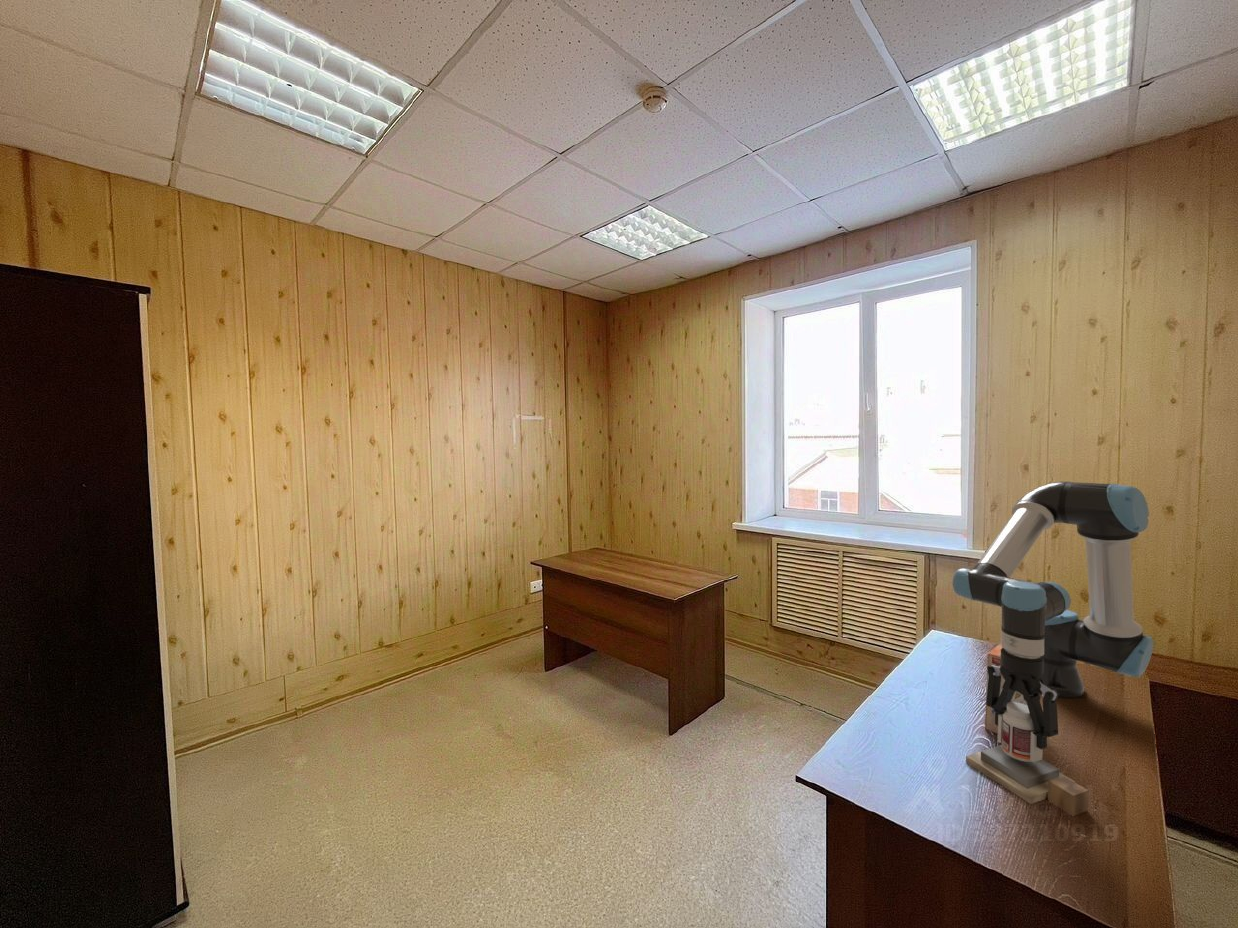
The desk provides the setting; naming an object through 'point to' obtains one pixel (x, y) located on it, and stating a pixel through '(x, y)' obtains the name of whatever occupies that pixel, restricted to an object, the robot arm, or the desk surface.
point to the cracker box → (995, 659)
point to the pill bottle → (1017, 731)
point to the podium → (1016, 773)
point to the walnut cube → (1068, 795)
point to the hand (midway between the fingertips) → (1019, 749)
